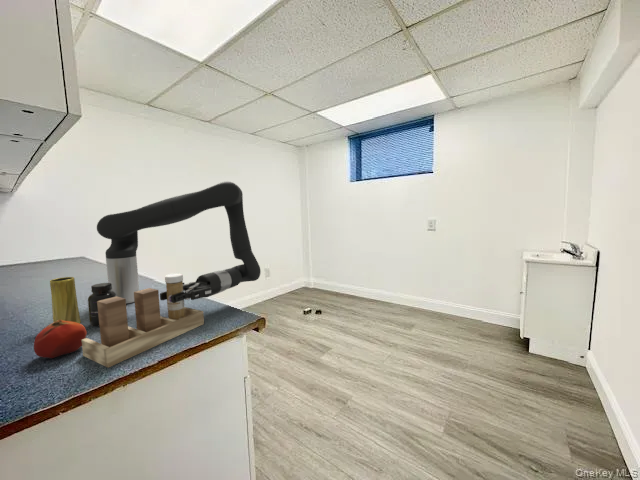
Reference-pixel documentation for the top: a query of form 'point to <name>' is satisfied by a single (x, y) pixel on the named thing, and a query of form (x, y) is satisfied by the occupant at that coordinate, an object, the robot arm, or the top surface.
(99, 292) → the supplement bottle
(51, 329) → the tomato
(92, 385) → the top surface
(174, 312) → the spice jar
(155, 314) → the rail rack
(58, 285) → the vase
